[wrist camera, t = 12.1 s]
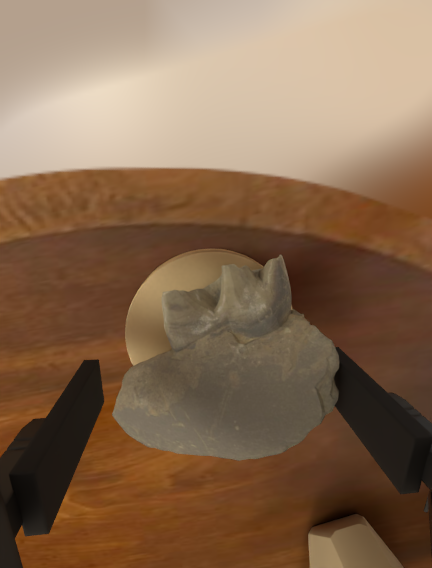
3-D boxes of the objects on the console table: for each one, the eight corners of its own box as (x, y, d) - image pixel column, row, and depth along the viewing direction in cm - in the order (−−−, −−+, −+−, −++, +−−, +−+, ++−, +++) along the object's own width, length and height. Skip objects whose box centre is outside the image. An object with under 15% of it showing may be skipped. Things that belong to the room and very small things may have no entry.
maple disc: (121, 249, 20) (116, 252, 18) (294, 247, 21) (302, 250, 20) (135, 400, 23) (132, 413, 22) (283, 391, 25) (288, 402, 23)
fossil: (274, 323, 25) (267, 227, 19) (360, 433, 17) (399, 332, 11) (123, 390, 23) (57, 306, 16) (142, 552, 15) (27, 513, 8)
